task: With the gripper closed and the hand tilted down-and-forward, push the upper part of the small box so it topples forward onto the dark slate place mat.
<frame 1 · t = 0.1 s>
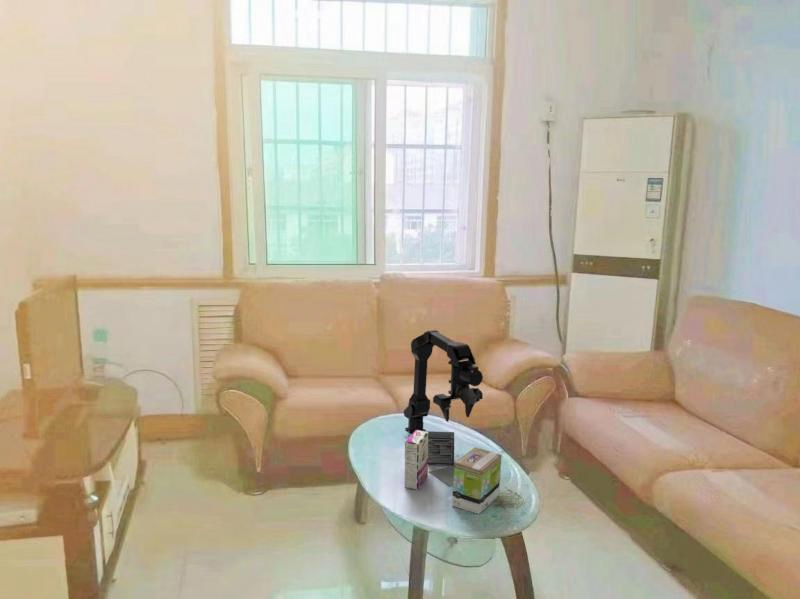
hand: (457, 419, 228), 15 cm above the table, tool pointing down, fingers open, 9 cm apart
candy bar box: (415, 482, 210), on the table
tea box: (475, 501, 198), on the table
slate mat: (457, 474, 216), on the table
small box: (439, 462, 225), on the table, touching slate mat
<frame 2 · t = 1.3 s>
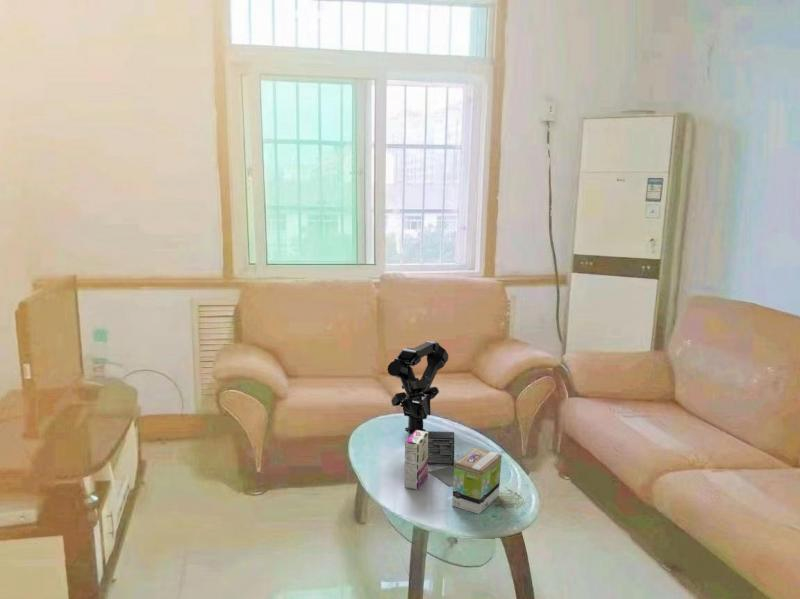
hand: (423, 416, 233), 14 cm above the table, tool tilted 45°, fingers open, 5 cm apart
nothing on the table moved.
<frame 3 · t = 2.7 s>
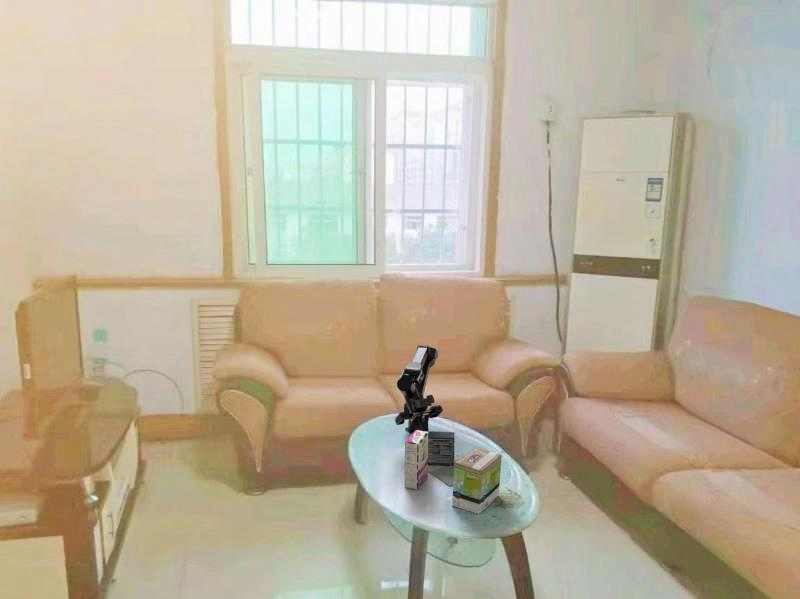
hand: (427, 435, 231), 7 cm above the table, tool tilted 45°, fingers closed
nothing on the table moved.
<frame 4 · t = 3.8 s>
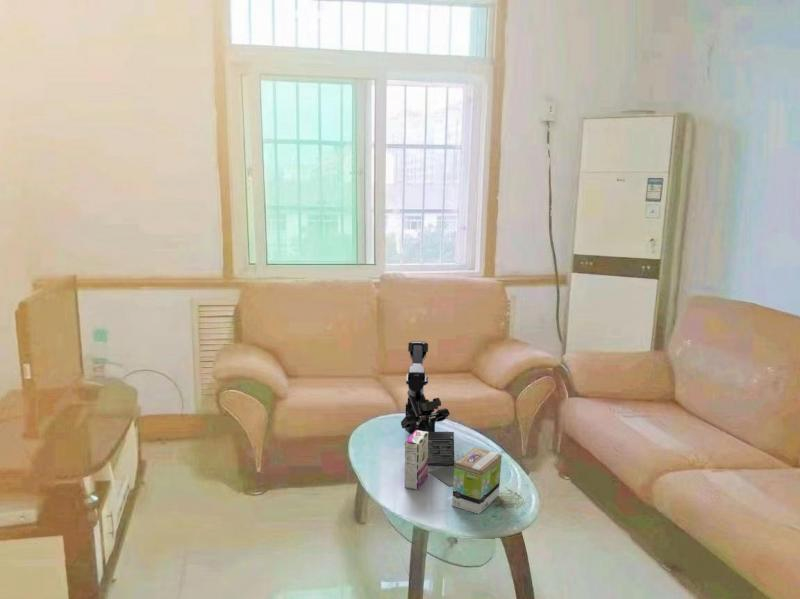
hand: (433, 439, 227), 7 cm above the table, tool tilted 45°, fingers closed
small box: (439, 461, 225), on the table, touching gripper, slate mat
everything else where it was.
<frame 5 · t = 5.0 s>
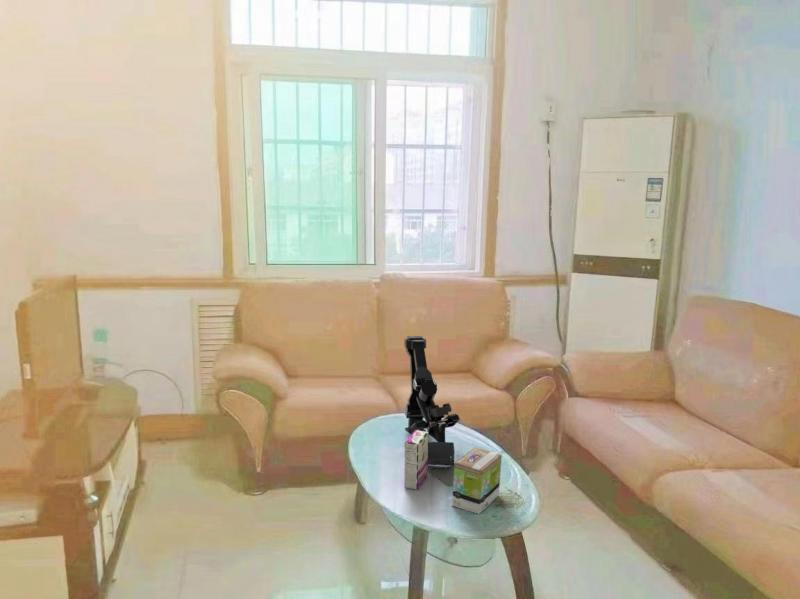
hand: (444, 445, 222), 7 cm above the table, tool tilted 45°, fingers closed
candy bar box: (415, 482, 210), on the table, touching small box
small box: (439, 456, 224), point 3 cm above the table, touching candy bar box, gripper, slate mat
everything else where it was.
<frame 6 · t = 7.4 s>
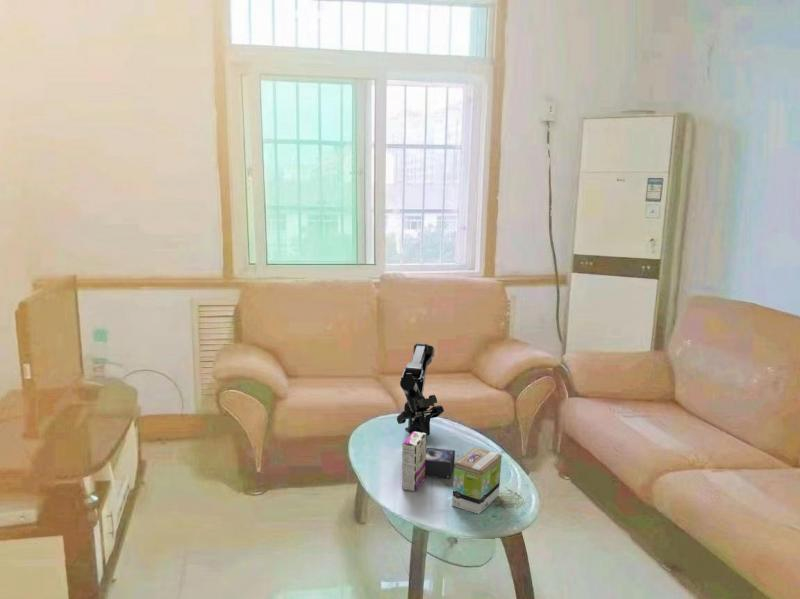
hand: (428, 435, 231), 7 cm above the table, tool tilted 45°, fingers closed
candy bar box: (413, 484, 209), on the table
small box: (440, 456, 222), point 4 cm above the table, touching slate mat
everything else where it was.
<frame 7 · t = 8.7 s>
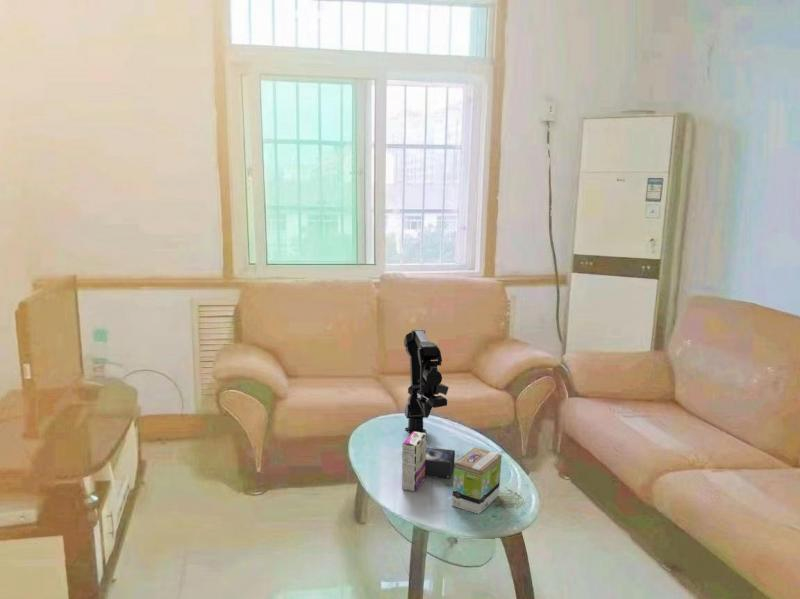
hand: (426, 417, 234), 13 cm above the table, tool pointing down, fingers closed
nothing on the table moved.
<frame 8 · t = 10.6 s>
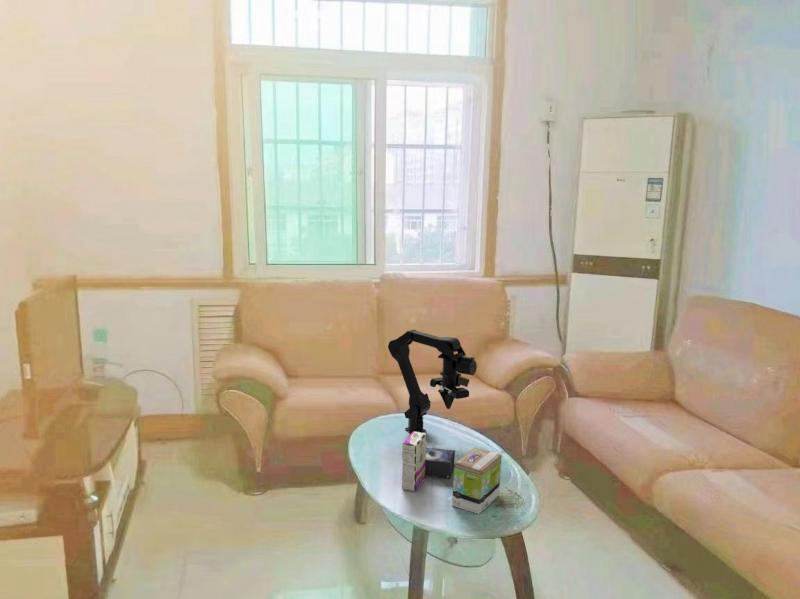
hand: (448, 408, 243), 13 cm above the table, tool pointing down, fingers closed
nothing on the table moved.
at the end: small box tilted 91°; small box inside the target area (8.3 cm from its centre), point 3.5 cm above the table; small box touching slate mat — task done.
